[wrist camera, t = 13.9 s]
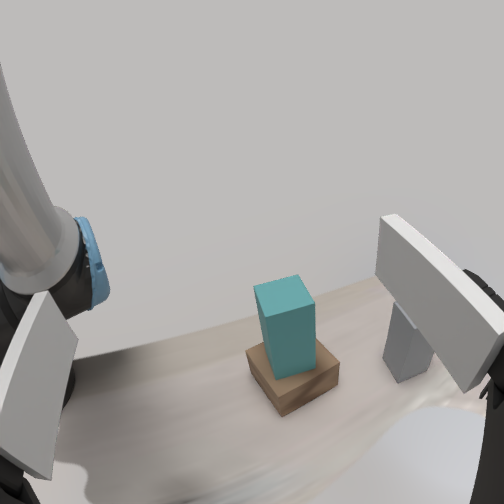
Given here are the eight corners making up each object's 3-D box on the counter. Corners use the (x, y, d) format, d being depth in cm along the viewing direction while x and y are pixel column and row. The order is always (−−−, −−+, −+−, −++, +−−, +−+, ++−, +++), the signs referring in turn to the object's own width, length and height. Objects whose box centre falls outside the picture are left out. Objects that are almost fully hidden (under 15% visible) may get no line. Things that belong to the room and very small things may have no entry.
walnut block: (282, 417, 33) (278, 397, 30) (251, 374, 39) (245, 350, 37) (337, 385, 35) (339, 362, 33) (302, 347, 42) (301, 323, 39)
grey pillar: (397, 383, 33) (414, 329, 28) (382, 357, 37) (393, 301, 32) (426, 370, 33) (447, 315, 28) (410, 346, 37) (425, 290, 32)
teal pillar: (275, 380, 32) (265, 317, 27) (265, 350, 36) (253, 286, 31) (315, 368, 33) (314, 303, 27) (302, 339, 36) (298, 274, 31)
